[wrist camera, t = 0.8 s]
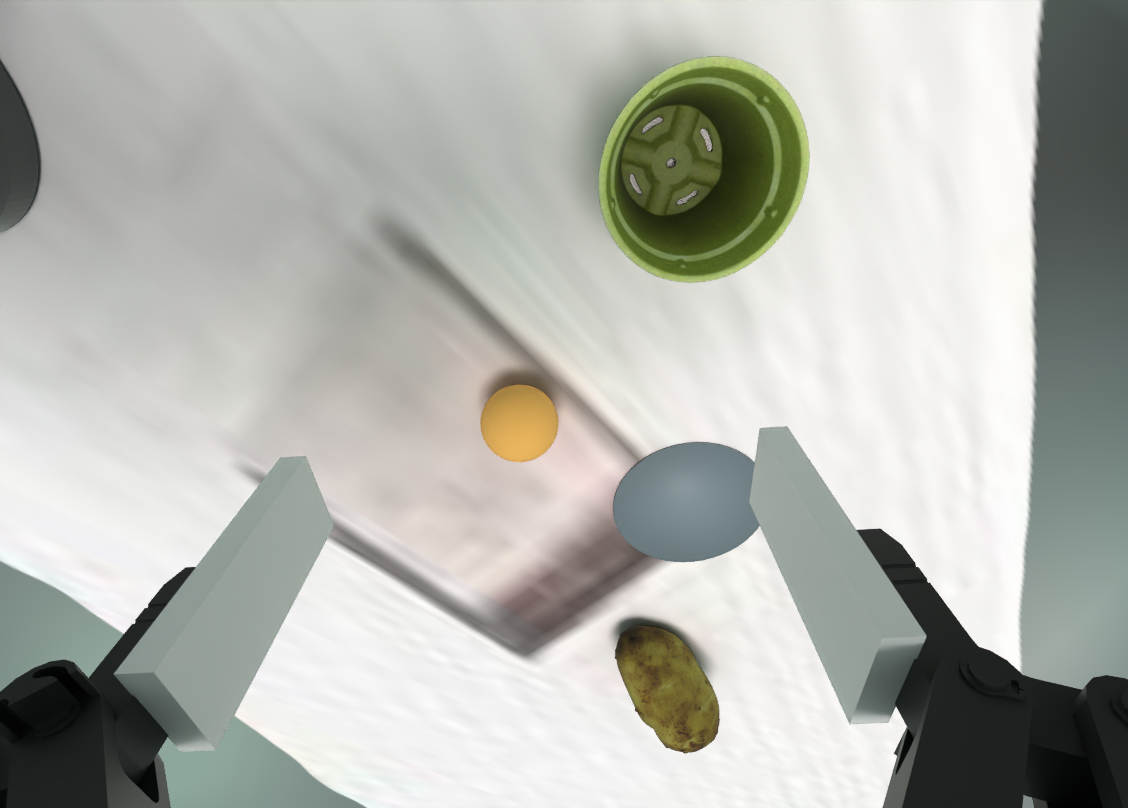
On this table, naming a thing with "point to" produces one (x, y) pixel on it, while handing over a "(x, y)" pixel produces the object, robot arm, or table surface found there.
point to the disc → (687, 502)
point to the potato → (668, 688)
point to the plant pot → (704, 169)
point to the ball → (519, 423)
